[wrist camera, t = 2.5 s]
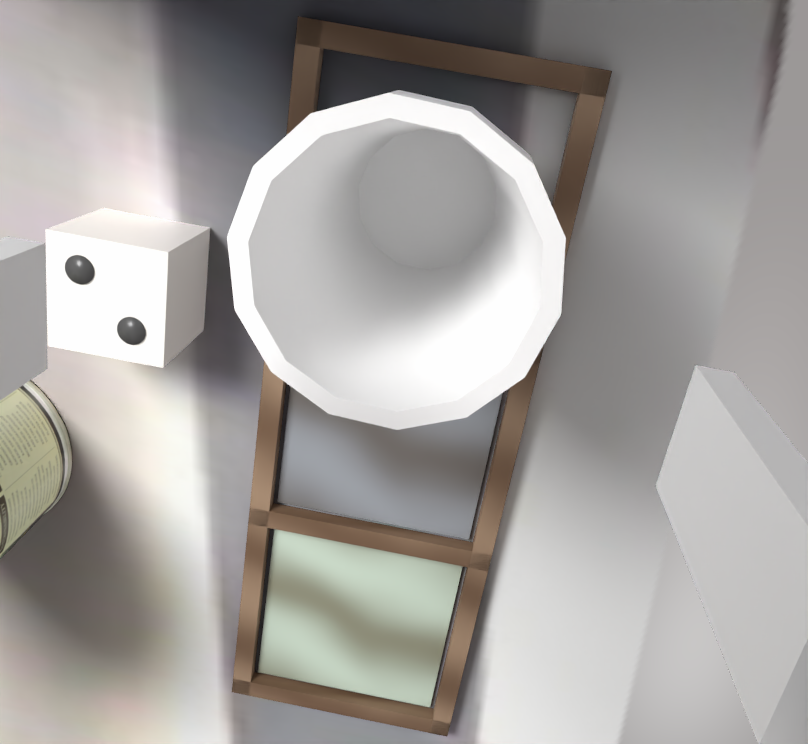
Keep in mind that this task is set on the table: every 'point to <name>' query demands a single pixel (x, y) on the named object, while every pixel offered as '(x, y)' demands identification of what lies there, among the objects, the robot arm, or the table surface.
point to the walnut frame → (385, 478)
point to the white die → (126, 285)
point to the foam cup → (397, 260)
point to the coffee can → (30, 461)
